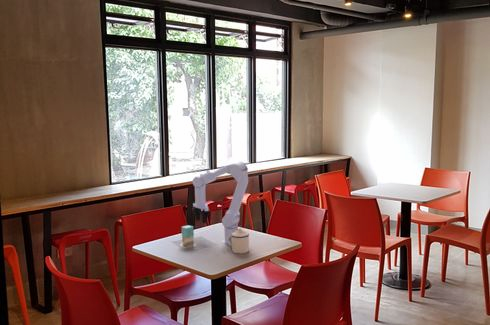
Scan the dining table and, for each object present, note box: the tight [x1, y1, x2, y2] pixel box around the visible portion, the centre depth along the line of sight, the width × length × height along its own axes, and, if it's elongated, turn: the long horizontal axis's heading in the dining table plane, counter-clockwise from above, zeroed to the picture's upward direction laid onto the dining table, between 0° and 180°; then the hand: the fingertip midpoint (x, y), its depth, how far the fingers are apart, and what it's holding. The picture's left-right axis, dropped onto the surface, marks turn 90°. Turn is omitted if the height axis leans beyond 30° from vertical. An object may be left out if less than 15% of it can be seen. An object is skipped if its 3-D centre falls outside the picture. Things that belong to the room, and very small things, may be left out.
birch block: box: [181, 235, 194, 247], centre depth 244 cm, size 4×4×5 cm
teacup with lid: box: [229, 227, 250, 254], centre depth 234 cm, size 12×9×12 cm
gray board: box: [171, 236, 218, 252], centre depth 247 cm, size 20×18×1 cm
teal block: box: [181, 224, 195, 238], centre depth 244 cm, size 4×4×5 cm
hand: (201, 221), depth 256 cm, fingers open, 7 cm apart
